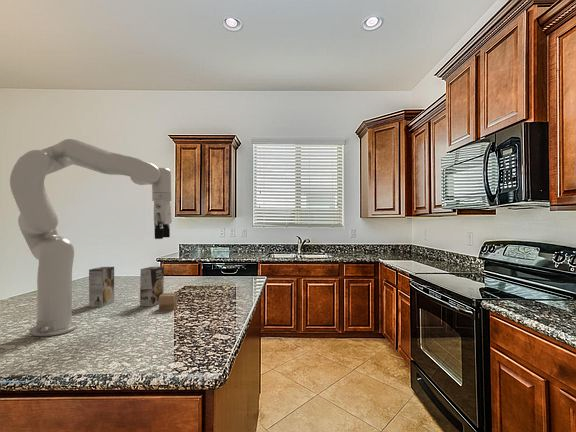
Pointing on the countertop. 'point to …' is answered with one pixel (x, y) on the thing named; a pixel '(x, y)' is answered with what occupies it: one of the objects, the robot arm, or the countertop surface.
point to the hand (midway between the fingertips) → (162, 238)
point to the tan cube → (167, 301)
